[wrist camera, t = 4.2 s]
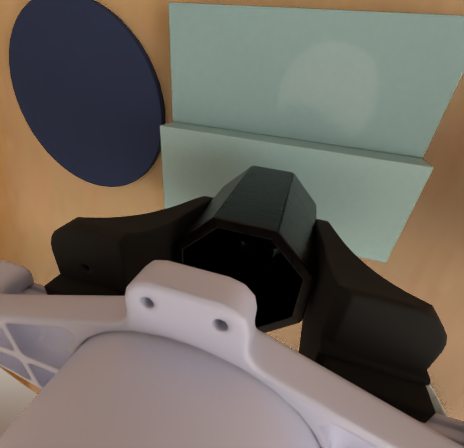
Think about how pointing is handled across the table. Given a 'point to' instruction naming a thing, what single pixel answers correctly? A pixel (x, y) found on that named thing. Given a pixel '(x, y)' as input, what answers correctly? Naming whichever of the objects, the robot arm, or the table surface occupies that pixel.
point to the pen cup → (259, 242)
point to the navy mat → (87, 90)
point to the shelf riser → (311, 107)
